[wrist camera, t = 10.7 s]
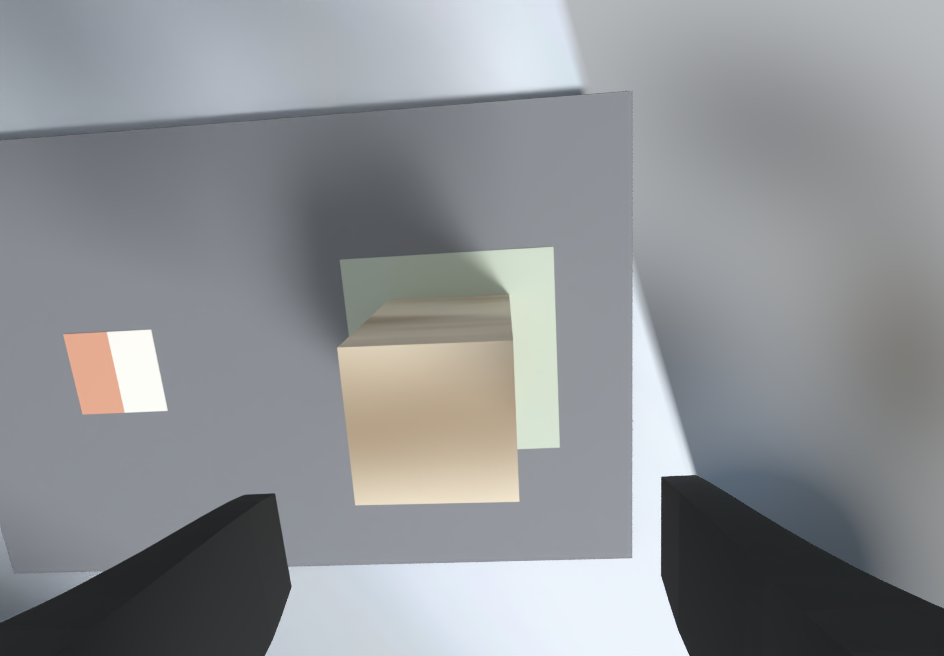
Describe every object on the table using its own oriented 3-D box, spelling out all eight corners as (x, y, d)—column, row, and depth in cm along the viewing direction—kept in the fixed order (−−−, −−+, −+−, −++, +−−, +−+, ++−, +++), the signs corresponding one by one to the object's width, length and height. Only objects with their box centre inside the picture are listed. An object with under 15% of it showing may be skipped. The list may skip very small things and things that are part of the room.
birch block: (513, 408, 19) (519, 501, 13) (399, 411, 19) (355, 505, 13) (509, 294, 18) (513, 340, 12) (388, 299, 18) (336, 347, 13)
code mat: (630, 553, 20) (632, 558, 20) (20, 568, 22) (13, 573, 22) (630, 92, 17) (632, 90, 16) (-101, 149, 18) (-111, 148, 18)
